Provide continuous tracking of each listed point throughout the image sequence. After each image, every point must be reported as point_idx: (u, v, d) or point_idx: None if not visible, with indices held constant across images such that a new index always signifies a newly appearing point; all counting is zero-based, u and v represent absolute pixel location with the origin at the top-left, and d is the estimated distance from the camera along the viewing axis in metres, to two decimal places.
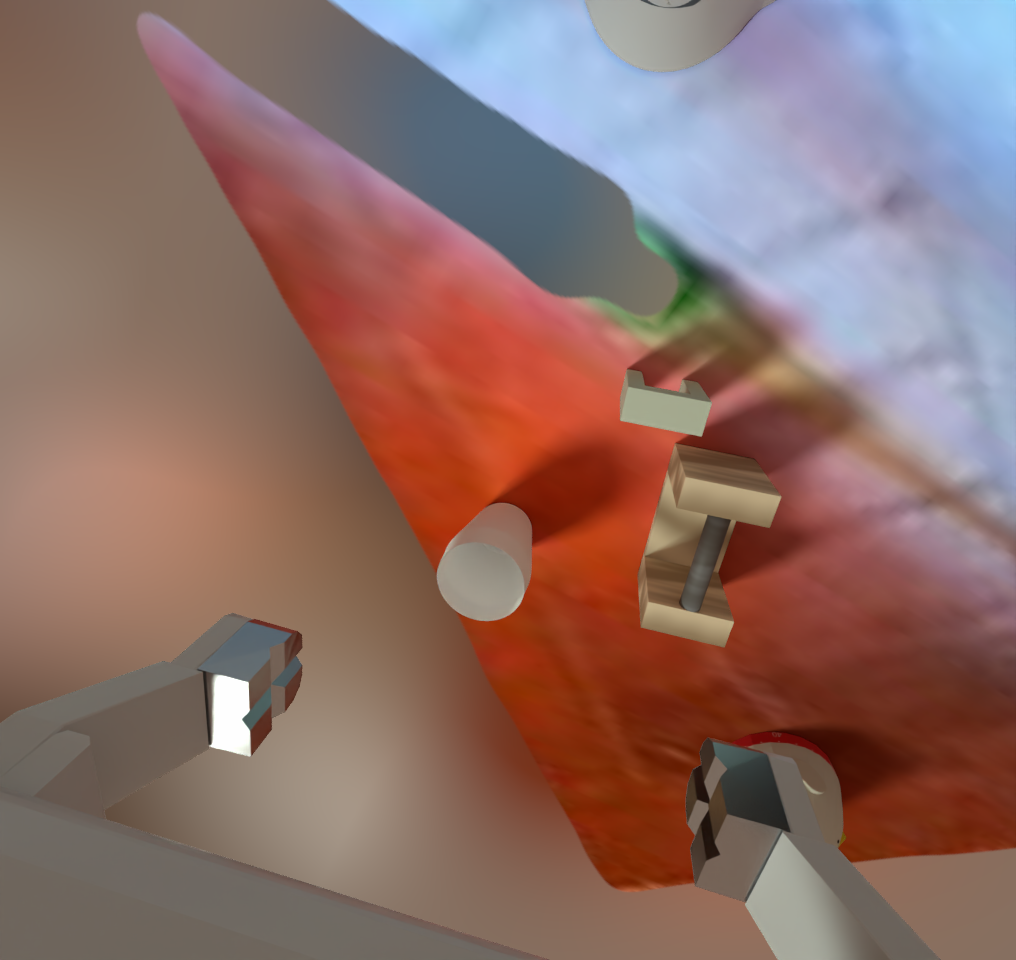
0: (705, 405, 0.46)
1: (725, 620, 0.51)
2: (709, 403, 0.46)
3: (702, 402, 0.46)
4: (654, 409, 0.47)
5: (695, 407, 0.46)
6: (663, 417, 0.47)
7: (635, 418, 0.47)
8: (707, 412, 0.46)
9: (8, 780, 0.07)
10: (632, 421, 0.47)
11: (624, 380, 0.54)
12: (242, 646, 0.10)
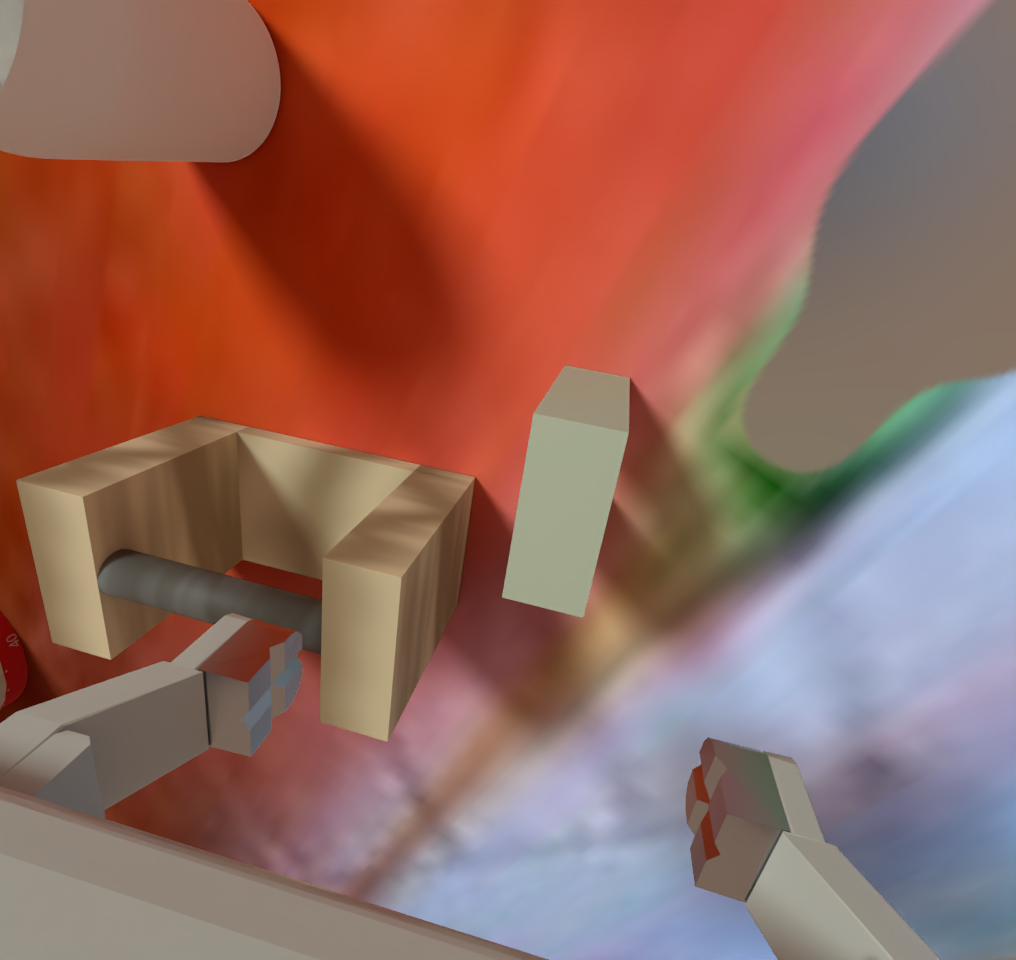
0: (576, 605, 0.19)
1: (106, 646, 0.24)
2: (581, 613, 0.19)
3: (583, 599, 0.19)
4: (565, 497, 0.18)
5: (571, 585, 0.19)
6: (545, 518, 0.18)
7: (540, 452, 0.18)
8: (559, 608, 0.20)
9: (8, 780, 0.07)
10: (532, 445, 0.18)
11: (606, 376, 0.24)
12: (242, 646, 0.10)
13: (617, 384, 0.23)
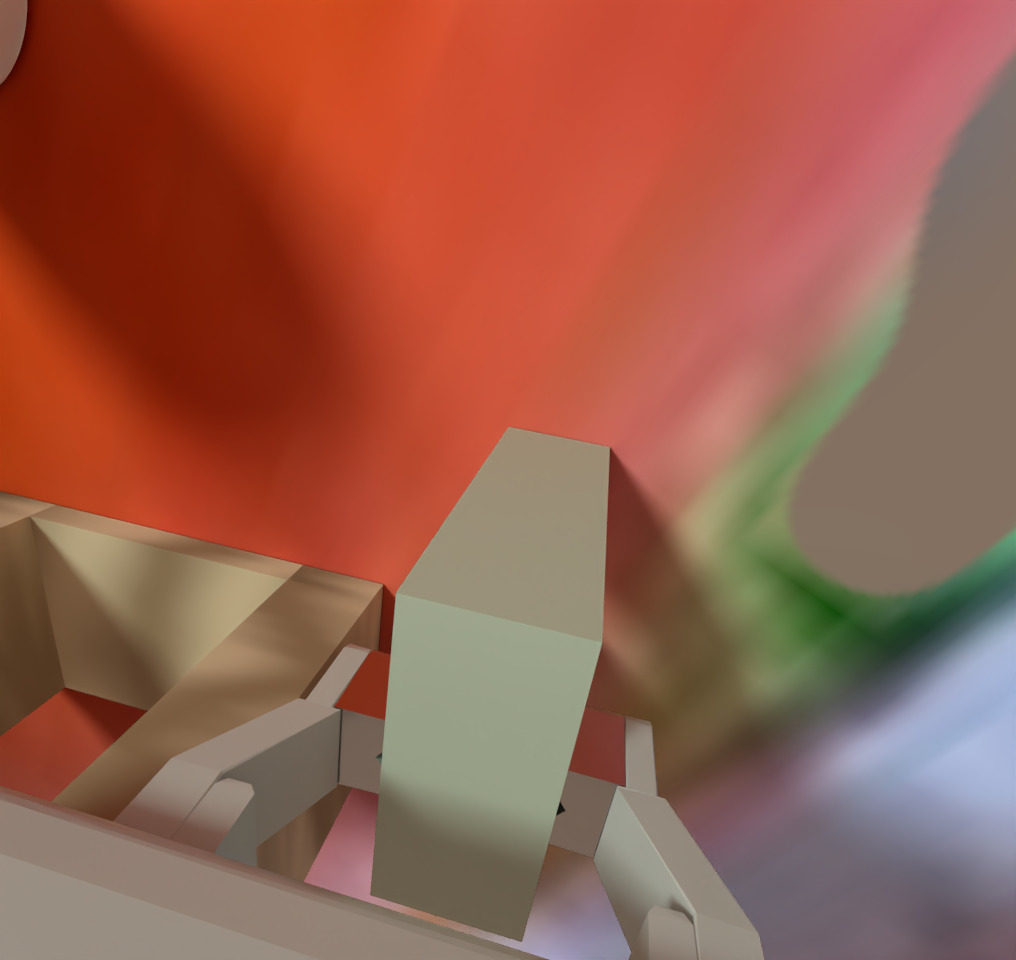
0: (508, 922, 0.10)
1: None
2: (517, 934, 0.10)
3: (521, 914, 0.10)
4: (475, 750, 0.09)
5: (496, 892, 0.10)
6: (437, 781, 0.09)
7: (417, 666, 0.08)
8: (477, 923, 0.10)
9: (183, 835, 0.07)
10: (399, 652, 0.08)
11: (572, 447, 0.15)
12: (371, 681, 0.10)
13: (588, 467, 0.14)
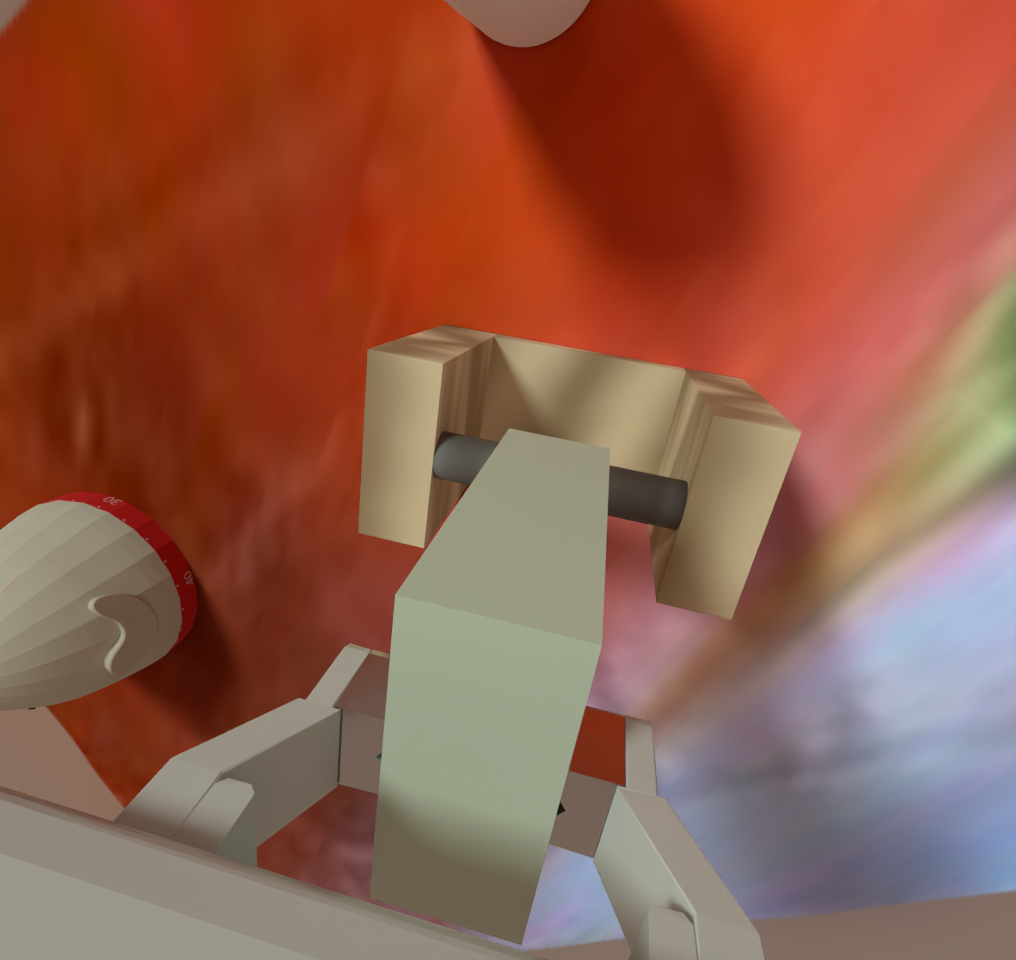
0: (507, 925, 0.10)
1: (423, 533, 0.23)
2: (517, 937, 0.10)
3: (520, 917, 0.10)
4: (474, 753, 0.09)
5: (496, 895, 0.10)
6: (436, 783, 0.09)
7: (416, 669, 0.08)
8: (476, 926, 0.10)
9: (183, 835, 0.07)
10: (398, 654, 0.08)
11: (572, 449, 0.15)
12: (371, 681, 0.10)
13: (589, 469, 0.14)
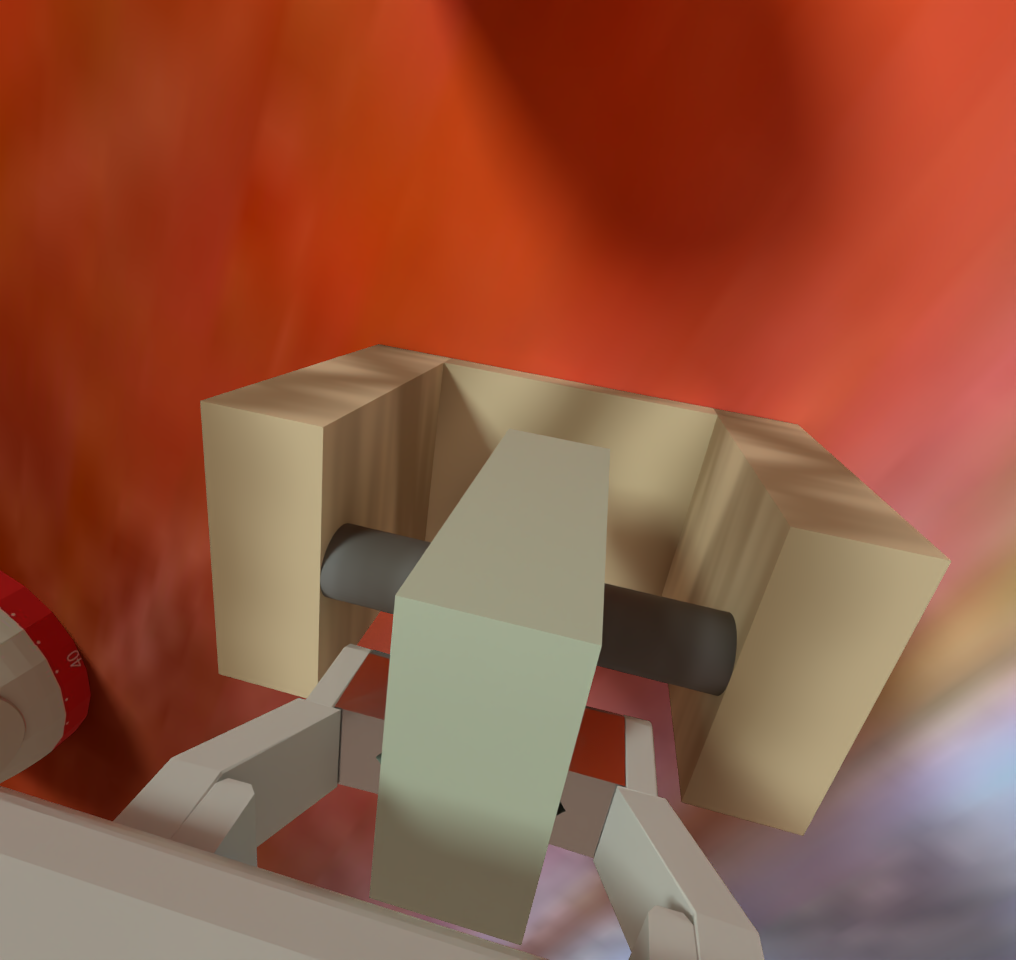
0: (507, 925, 0.10)
1: (314, 680, 0.15)
2: (517, 937, 0.10)
3: (520, 917, 0.10)
4: (474, 753, 0.09)
5: (496, 895, 0.10)
6: (436, 783, 0.09)
7: (416, 669, 0.08)
8: (476, 927, 0.10)
9: (183, 835, 0.07)
10: (398, 654, 0.08)
11: (573, 449, 0.15)
12: (371, 680, 0.10)
13: (589, 469, 0.14)
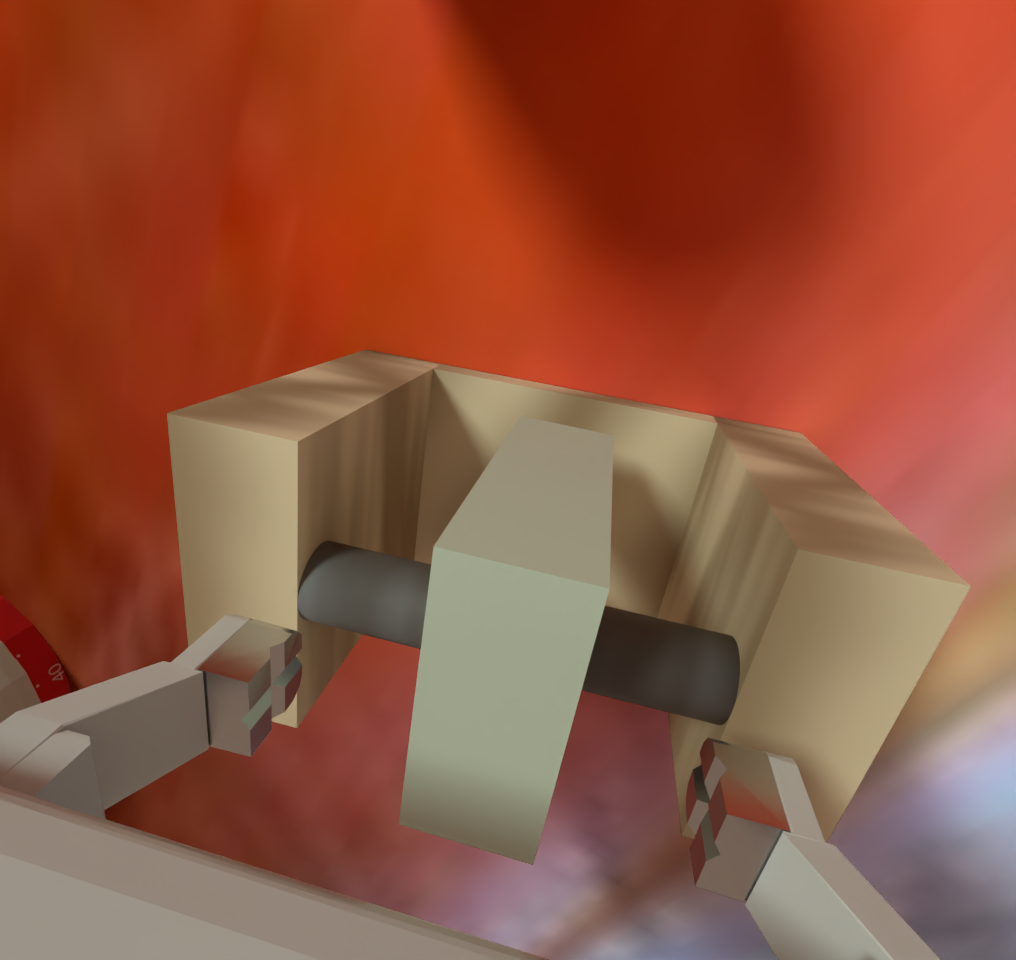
0: (521, 846, 0.11)
1: (293, 706, 0.14)
2: (529, 858, 0.12)
3: (533, 839, 0.11)
4: (497, 687, 0.10)
5: (512, 818, 0.11)
6: (463, 716, 0.10)
7: (449, 612, 0.10)
8: (493, 848, 0.12)
9: (8, 780, 0.07)
10: (434, 599, 0.10)
11: (579, 434, 0.17)
12: (242, 646, 0.10)
13: (594, 452, 0.15)
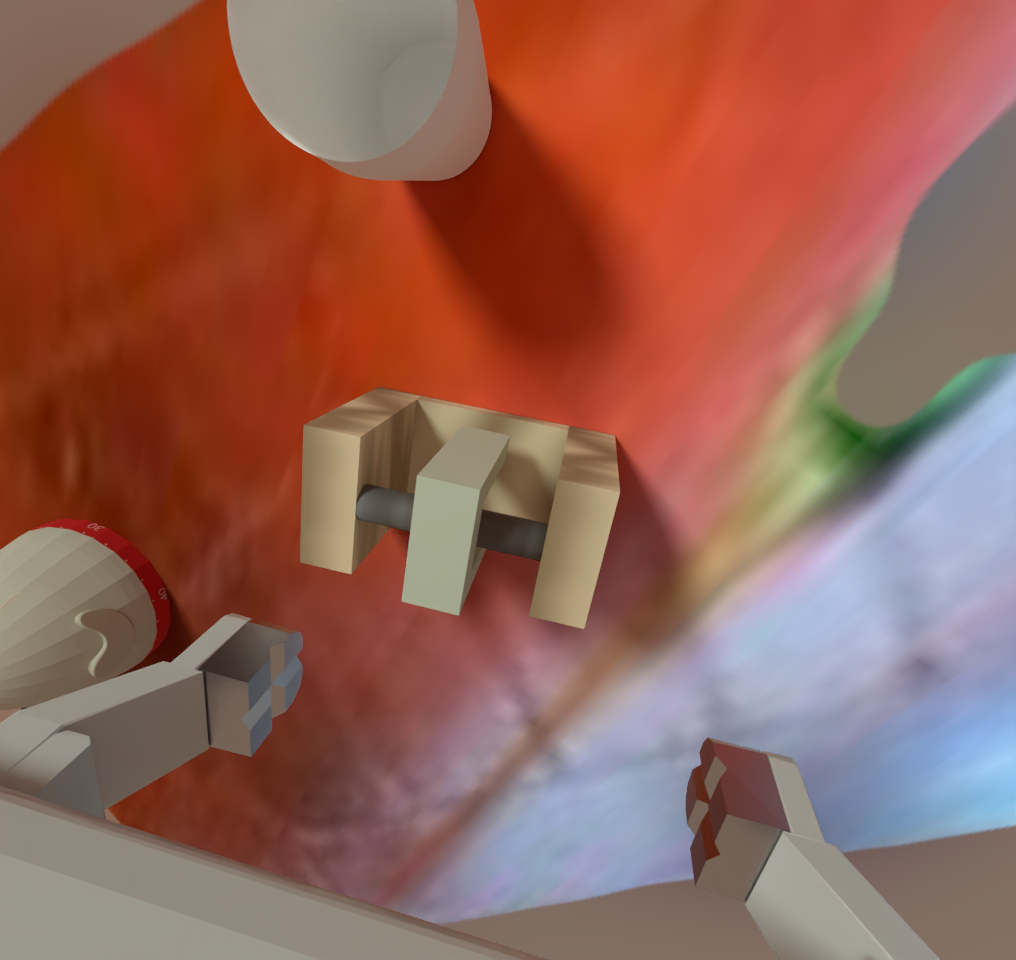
0: (453, 606, 0.27)
1: (350, 562, 0.30)
2: (457, 612, 0.28)
3: (458, 602, 0.27)
4: (441, 532, 0.26)
5: (449, 592, 0.27)
6: (428, 546, 0.26)
7: (423, 501, 0.26)
8: (442, 609, 0.28)
9: (8, 780, 0.07)
10: (417, 496, 0.26)
11: (491, 435, 0.33)
12: (242, 646, 0.10)
13: (496, 443, 0.31)
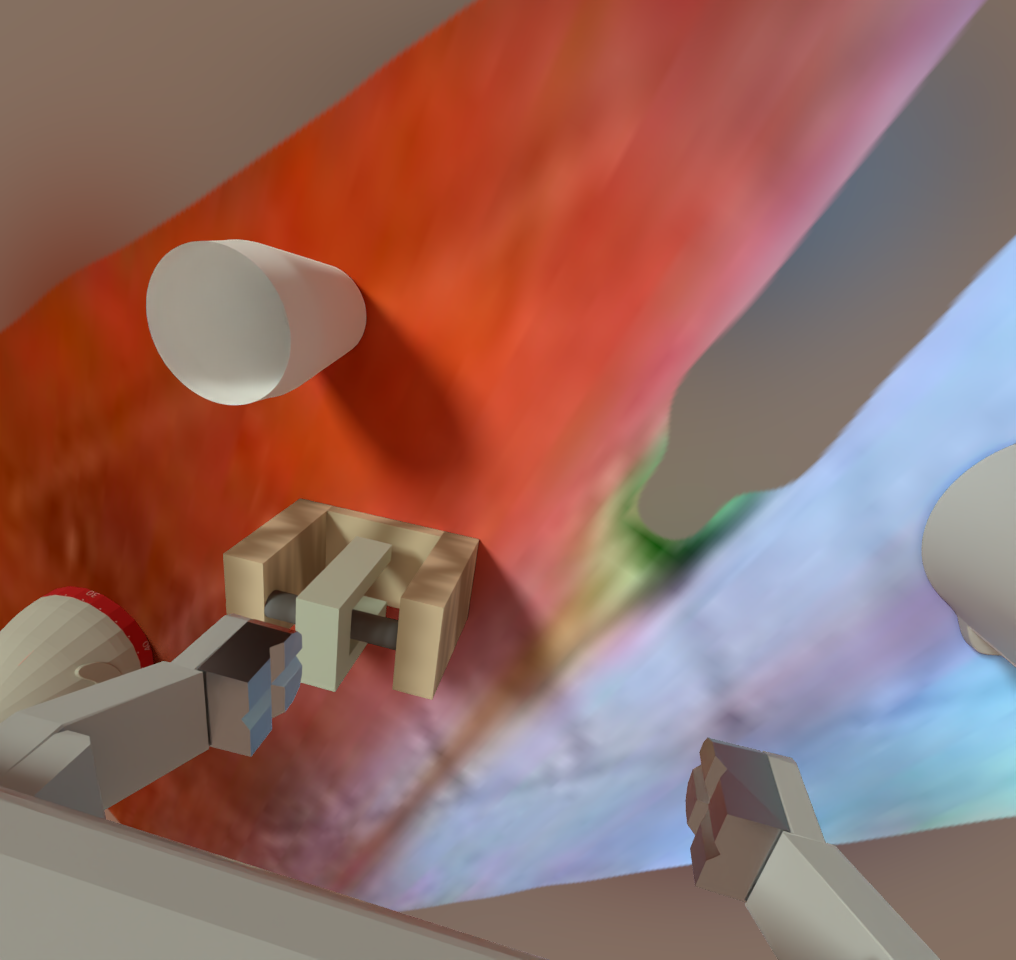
0: (330, 685, 0.38)
1: None
2: (333, 689, 0.38)
3: (333, 682, 0.38)
4: (316, 635, 0.36)
5: (326, 676, 0.38)
6: (309, 644, 0.37)
7: (301, 615, 0.36)
8: (323, 687, 0.38)
9: (8, 780, 0.07)
10: (297, 611, 0.36)
11: (376, 546, 0.43)
12: (242, 646, 0.10)
13: (375, 555, 0.42)
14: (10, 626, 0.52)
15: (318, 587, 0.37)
